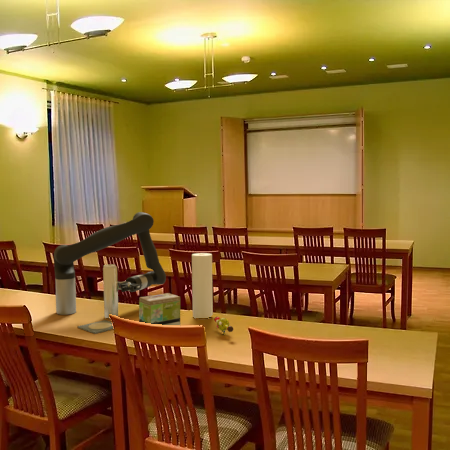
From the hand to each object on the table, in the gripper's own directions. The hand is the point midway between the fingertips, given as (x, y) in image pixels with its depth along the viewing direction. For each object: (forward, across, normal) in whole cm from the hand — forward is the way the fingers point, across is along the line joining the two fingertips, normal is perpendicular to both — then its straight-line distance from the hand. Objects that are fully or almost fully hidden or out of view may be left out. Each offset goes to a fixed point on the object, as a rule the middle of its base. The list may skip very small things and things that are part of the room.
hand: (115, 288), depth 242 cm
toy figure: (+3, +60, +13) cm, 62 cm away
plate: (+18, +7, +13) cm, 24 cm away
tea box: (+10, +33, +13) cm, 37 cm away
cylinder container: (-18, +38, +13) cm, 44 cm away
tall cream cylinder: (+3, 0, +13) cm, 14 cm away
